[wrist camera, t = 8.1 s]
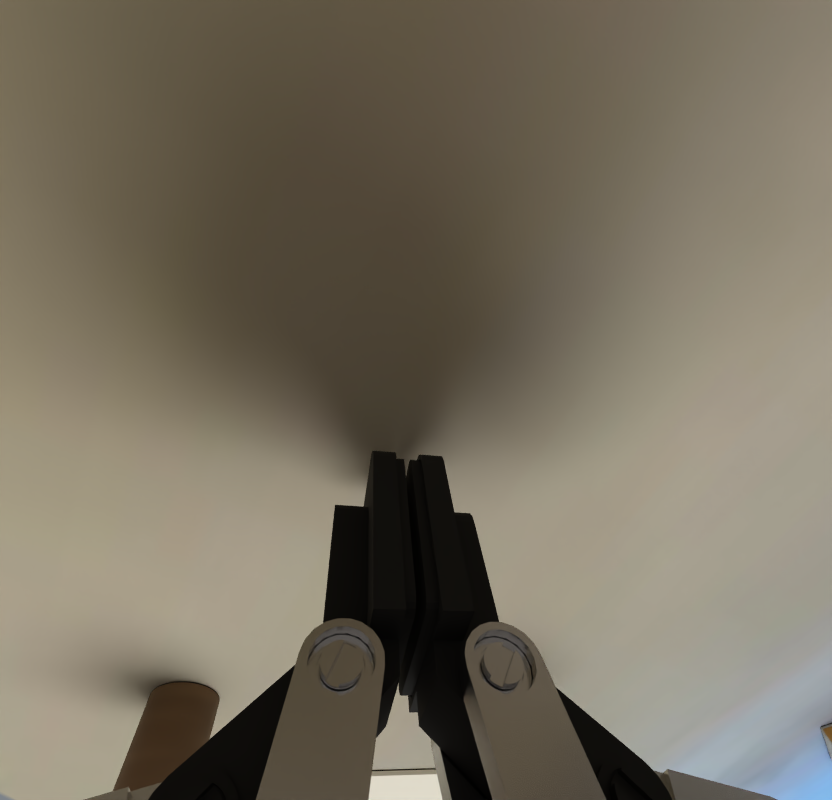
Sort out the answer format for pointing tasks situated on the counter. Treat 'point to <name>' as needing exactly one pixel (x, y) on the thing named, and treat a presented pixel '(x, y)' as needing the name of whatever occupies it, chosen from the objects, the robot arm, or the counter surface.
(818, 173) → the counter surface
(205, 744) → the robot arm
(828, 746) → the small box
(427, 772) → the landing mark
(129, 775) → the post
